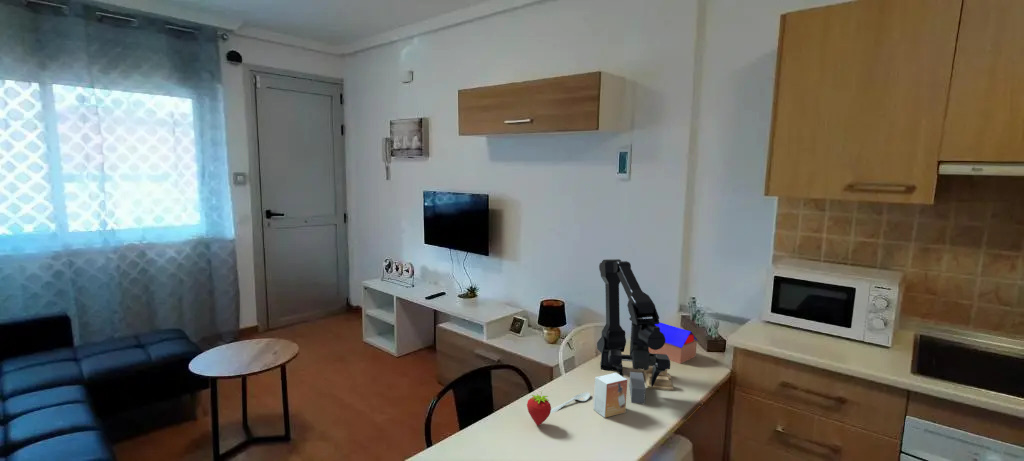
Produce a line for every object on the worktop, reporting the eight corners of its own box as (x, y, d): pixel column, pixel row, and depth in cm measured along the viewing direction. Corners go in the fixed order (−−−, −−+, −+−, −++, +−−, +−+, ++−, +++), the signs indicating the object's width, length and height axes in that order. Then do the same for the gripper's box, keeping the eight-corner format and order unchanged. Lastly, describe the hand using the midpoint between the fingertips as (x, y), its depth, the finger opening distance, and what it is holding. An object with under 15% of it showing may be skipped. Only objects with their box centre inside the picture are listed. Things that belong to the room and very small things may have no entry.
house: (652, 342, 203) (653, 315, 201) (696, 357, 188) (699, 328, 186) (635, 348, 195) (636, 321, 193) (680, 364, 180) (682, 334, 178)
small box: (604, 418, 140) (606, 384, 138) (592, 409, 145) (594, 376, 143) (626, 412, 143) (628, 379, 142) (614, 404, 148) (615, 371, 147)
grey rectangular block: (631, 403, 150) (632, 387, 149) (629, 385, 161) (630, 371, 161) (644, 404, 149) (645, 389, 148) (641, 387, 161) (642, 372, 160)
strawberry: (536, 415, 140) (537, 383, 139) (555, 426, 135) (556, 392, 133) (521, 422, 136) (522, 389, 135) (540, 434, 131) (541, 399, 129)
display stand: (647, 388, 159) (648, 378, 159) (643, 370, 173) (644, 361, 173) (672, 390, 158) (673, 380, 158) (666, 373, 172) (667, 363, 171)
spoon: (594, 399, 152) (594, 394, 152) (545, 419, 139) (546, 414, 139) (584, 394, 155) (584, 389, 155) (536, 414, 142) (536, 408, 142)
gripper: (610, 344, 146) (608, 393, 149) (674, 349, 143) (671, 399, 146) (609, 332, 157) (607, 377, 159) (669, 337, 154) (665, 383, 156)
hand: (637, 384), depth 155 cm, fingers open, 9 cm apart
